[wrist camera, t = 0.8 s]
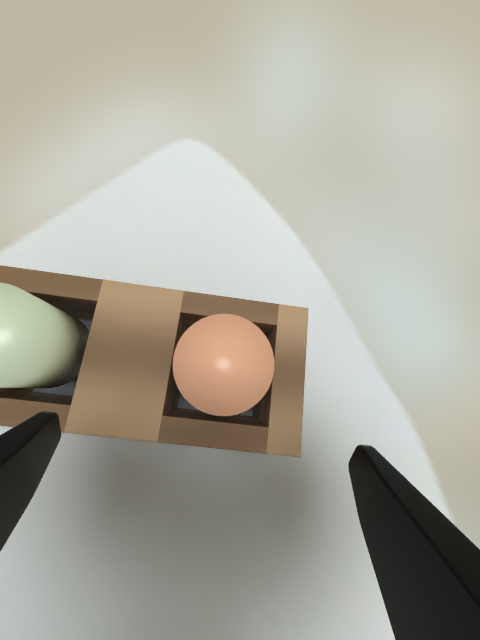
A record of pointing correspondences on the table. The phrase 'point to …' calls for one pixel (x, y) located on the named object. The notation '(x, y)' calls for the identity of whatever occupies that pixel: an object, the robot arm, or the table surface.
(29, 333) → the pale green egg
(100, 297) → the wooden compartment box
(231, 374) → the peach orange egg
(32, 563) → the table surface
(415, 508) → the robot arm
